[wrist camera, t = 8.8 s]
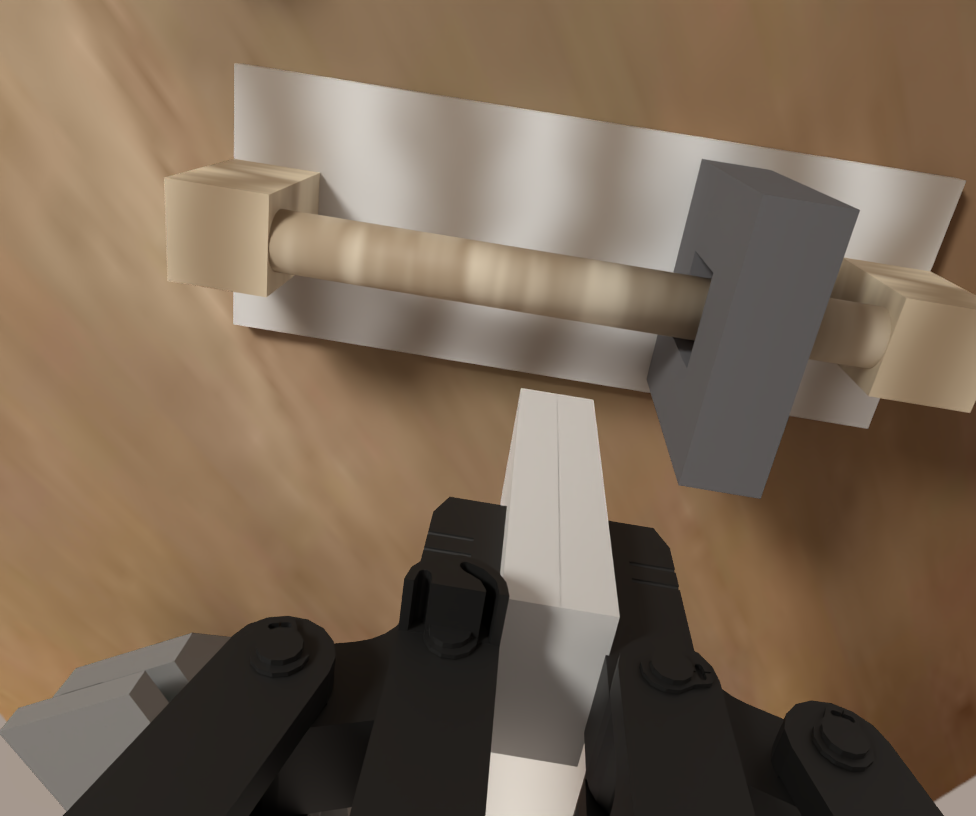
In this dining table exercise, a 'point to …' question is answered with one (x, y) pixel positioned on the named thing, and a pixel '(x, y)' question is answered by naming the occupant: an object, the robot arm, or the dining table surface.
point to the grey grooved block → (105, 713)
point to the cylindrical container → (532, 786)
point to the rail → (541, 242)
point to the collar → (746, 321)
